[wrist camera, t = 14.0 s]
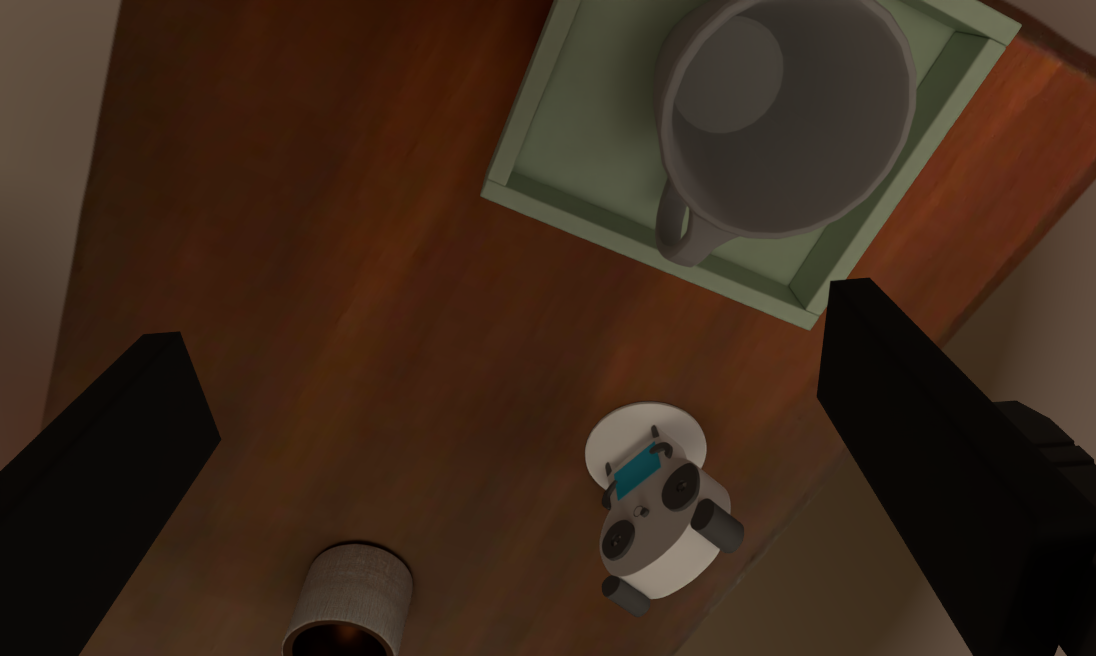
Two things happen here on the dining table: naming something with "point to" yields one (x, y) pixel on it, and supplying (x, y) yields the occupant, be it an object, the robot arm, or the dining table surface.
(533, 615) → the dining table surface
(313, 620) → the planter
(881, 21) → the cup
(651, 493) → the panda figurine
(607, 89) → the tray
